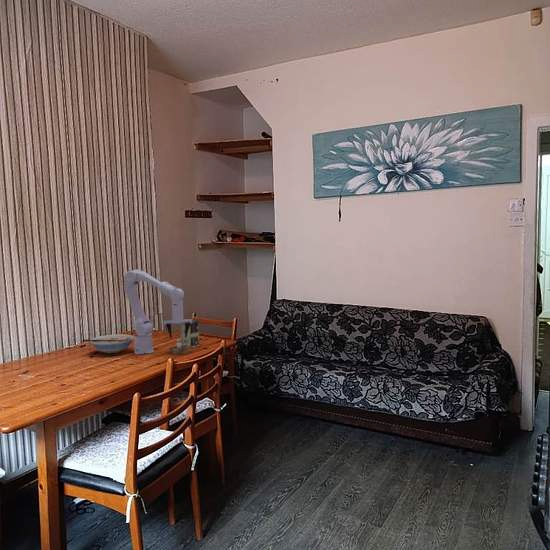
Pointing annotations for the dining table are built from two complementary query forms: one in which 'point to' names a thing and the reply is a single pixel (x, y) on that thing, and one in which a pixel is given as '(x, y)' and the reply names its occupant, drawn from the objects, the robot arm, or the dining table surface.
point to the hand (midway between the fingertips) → (178, 337)
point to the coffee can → (190, 334)
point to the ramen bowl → (111, 343)
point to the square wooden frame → (179, 350)
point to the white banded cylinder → (178, 343)
